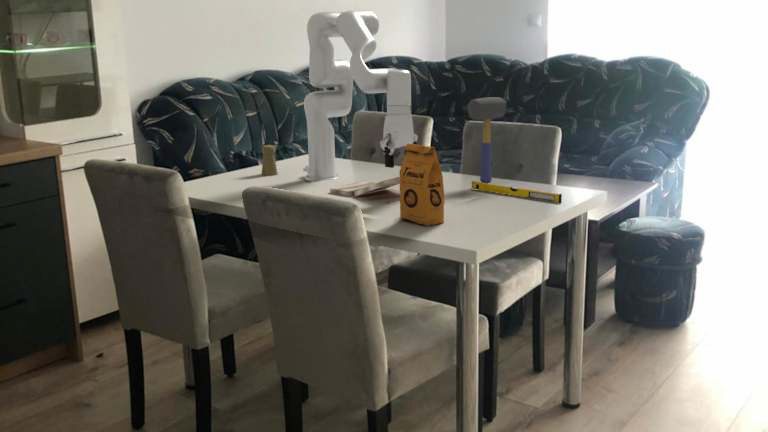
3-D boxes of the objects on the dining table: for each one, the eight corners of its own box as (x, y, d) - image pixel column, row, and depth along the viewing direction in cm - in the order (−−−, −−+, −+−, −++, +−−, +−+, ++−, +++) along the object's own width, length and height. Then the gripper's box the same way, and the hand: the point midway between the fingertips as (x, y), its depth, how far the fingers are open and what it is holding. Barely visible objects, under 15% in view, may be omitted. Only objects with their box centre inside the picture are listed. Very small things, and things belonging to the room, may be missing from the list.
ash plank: (355, 196, 263) (353, 191, 263) (385, 188, 274) (384, 184, 274) (385, 184, 254) (384, 180, 254) (416, 177, 265) (414, 173, 265)
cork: (280, 173, 310) (279, 144, 307) (270, 176, 305) (269, 146, 303) (268, 172, 313) (267, 143, 311) (258, 174, 308) (256, 145, 306)
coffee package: (423, 228, 227) (423, 149, 221) (395, 220, 236) (394, 144, 231) (450, 222, 233) (450, 145, 227) (421, 215, 242) (421, 140, 237)
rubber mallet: (478, 188, 279) (479, 99, 272) (464, 184, 286) (465, 97, 279) (506, 183, 286) (508, 97, 279) (492, 180, 292) (494, 95, 285)
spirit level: (471, 190, 277) (471, 181, 277) (473, 189, 278) (474, 181, 278) (559, 204, 256) (559, 194, 255) (561, 203, 256) (561, 193, 256)
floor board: (328, 195, 270) (327, 188, 269) (362, 187, 282) (362, 180, 282) (388, 206, 253) (388, 198, 253) (422, 197, 266) (422, 189, 265)
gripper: (407, 107, 263) (407, 160, 267) (371, 112, 250) (372, 167, 254) (425, 108, 258) (425, 162, 262) (390, 113, 246) (390, 170, 250)
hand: (399, 165), depth 258 cm, fingers open, 9 cm apart
